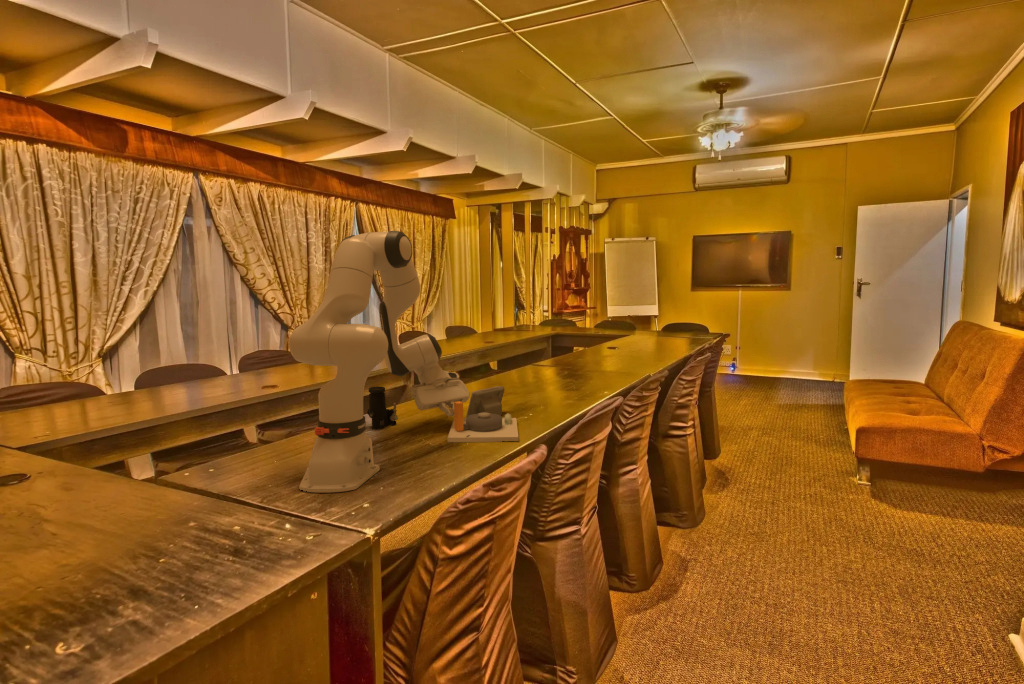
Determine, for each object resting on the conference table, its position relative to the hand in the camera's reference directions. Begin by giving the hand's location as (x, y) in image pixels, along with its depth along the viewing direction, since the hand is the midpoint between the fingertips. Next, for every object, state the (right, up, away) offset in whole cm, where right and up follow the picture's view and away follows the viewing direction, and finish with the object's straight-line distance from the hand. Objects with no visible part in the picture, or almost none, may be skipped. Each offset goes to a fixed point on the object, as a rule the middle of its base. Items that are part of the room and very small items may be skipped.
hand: (452, 414), depth 181 cm
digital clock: (+10, -4, +22) cm, 25 cm away
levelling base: (+11, -6, +1) cm, 12 cm away
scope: (-26, -5, +7) cm, 27 cm away
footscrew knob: (+9, -4, 0) cm, 10 cm away
